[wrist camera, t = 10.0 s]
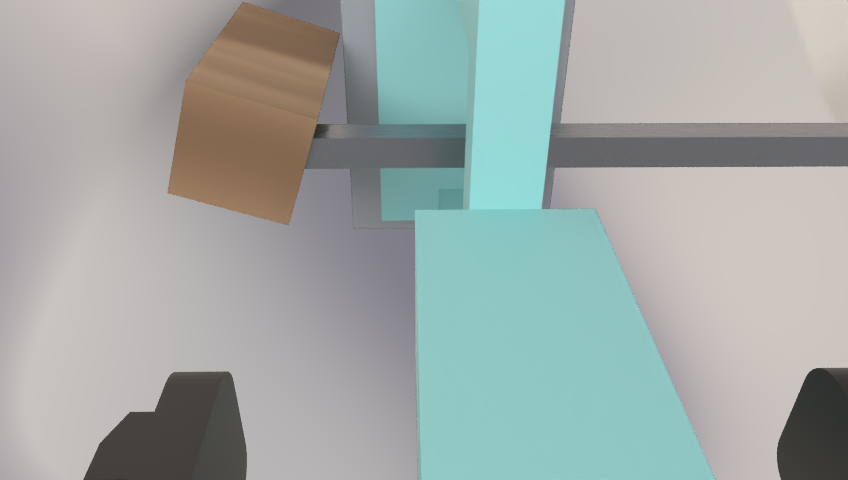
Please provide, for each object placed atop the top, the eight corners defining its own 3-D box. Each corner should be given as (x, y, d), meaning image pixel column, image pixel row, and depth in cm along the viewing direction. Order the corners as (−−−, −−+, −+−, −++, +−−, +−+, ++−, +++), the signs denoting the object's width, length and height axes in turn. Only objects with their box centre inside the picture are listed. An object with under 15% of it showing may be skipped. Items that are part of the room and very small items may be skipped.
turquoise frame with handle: (554, -114, 19) (1145, 309, 4) (524, 201, 25) (720, 892, 9) (373, -114, 19) (244, 319, 4) (383, 202, 25) (346, 903, 9)
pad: (591, -152, 19) (593, -152, 19) (546, 223, 26) (547, 227, 25) (332, -154, 19) (331, -153, 19) (354, 224, 25) (353, 228, 25)
